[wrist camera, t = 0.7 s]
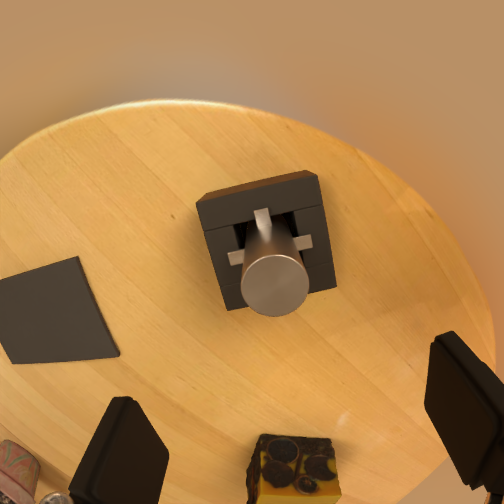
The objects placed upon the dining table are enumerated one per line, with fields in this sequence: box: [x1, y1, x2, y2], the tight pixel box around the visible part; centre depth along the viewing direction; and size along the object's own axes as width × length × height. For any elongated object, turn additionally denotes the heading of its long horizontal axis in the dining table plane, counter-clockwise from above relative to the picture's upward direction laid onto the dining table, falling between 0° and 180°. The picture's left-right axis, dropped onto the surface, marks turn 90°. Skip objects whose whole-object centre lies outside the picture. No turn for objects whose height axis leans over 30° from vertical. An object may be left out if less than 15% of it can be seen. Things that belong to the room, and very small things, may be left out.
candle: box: [246, 434, 342, 504], centre depth 33 cm, size 10×10×10 cm
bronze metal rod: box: [227, 207, 313, 317], centre depth 22 cm, size 6×6×12 cm
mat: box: [0, 256, 120, 364], centre depth 32 cm, size 12×20×1 cm, turn 104°
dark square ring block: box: [196, 170, 337, 311], centre depth 26 cm, size 9×9×5 cm
